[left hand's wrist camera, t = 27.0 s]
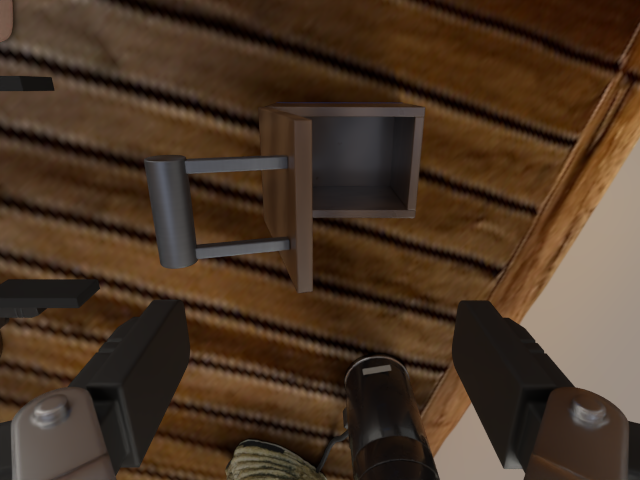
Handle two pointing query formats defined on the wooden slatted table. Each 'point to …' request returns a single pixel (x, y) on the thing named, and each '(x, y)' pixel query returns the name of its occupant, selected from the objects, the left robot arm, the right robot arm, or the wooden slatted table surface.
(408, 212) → the chest
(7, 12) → the anatomical model
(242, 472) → the fossil
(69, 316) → the wooden slatted table surface
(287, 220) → the lid
